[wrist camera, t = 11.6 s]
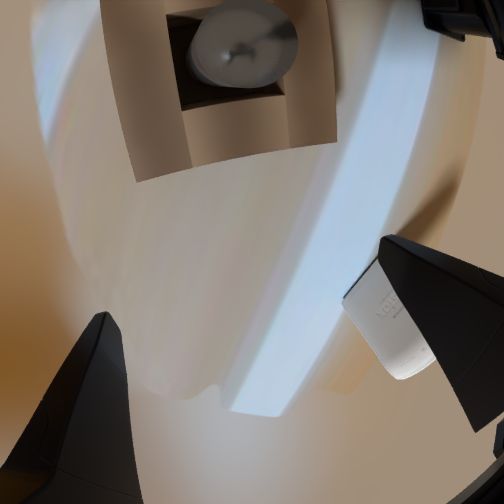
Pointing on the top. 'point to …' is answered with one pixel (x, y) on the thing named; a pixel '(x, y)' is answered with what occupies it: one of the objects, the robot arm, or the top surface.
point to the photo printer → (387, 325)
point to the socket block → (220, 109)
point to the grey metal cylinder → (242, 45)
